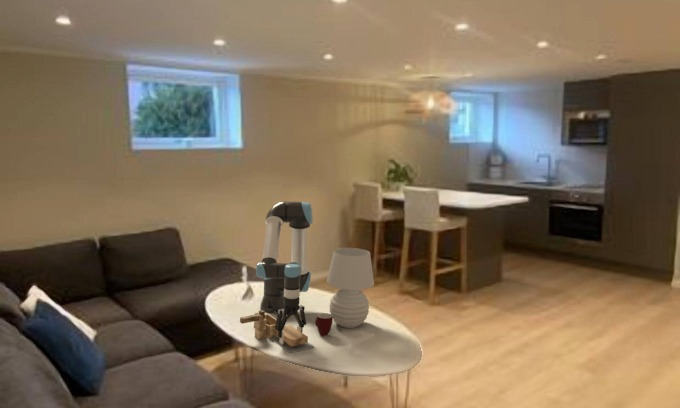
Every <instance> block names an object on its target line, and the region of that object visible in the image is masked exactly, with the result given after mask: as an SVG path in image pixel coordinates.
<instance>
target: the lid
mask: <svg viewBox="0 0 680 408" xmlns="http://www.w3.org/2000/svg"><path fill="white" fill-rule="evenodd" d="M283 331H284V342H286V343H287V344H288V345H290V346H291V347H292V346H296V345H300V344H304V343H309V341H308V340H309V337H308V335H306V334H305V333H304V332H302V333H301V332H300V331H298V330H297V328H296V327H294V326H292V325H290V324H288V325H285V326H284V328H283ZM274 335H276V336H277V337H278V331H277V330H275V328H274ZM276 336H275V337H276ZM278 338H280V337H278Z"/></svg>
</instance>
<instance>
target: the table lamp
mask: <svg viewBox="0 0 680 408" xmlns="http://www.w3.org/2000/svg"><path fill="white" fill-rule="evenodd" d="M371 256H372V255H371V252H370V251H368V250H367V249H362V248H356V247H355V248H354V247H339V248H336V249H334V251H333V253H332V257H331V262H330V266H329V271H328V275H327V279H326V284H327V285H329V286H330V287H332V288H336V289H338V290H337V291H336V292H334V294H333V296H332V297H330V298H331V299H330V302H329V314H331V315H332V316H333V320H332V321H334V322H335V323H336V324H337V325H338V326H339V327H342V328H346V329H352V328H358V327H359V326H361V325H362V324H363V323H364V322H365V321H366V319H367V317H368V315H369V312H370V311H369V309H370V305H369V304H370V303H369V300H368V298H367V296H366V294H365V293H364V292H363V291H364V290H367V289H371V288H373V287H374V286H375V281H374V273H373V266H372V265H373V264H372V258H371ZM362 290H363V291H362Z"/></svg>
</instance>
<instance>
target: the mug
mask: <svg viewBox="0 0 680 408" xmlns="http://www.w3.org/2000/svg"><path fill="white" fill-rule="evenodd" d="M314 321H315V322H314V323H315V326H316V327H317V332H318V333H319V335H320V336H321V337H326V336H327V337H328V335H329V334H330V332H331V329H332V325H333V321H334V320H333V316H332V315H331V313H326V312H321V313H317V315H316V319H315V320H314Z"/></svg>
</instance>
